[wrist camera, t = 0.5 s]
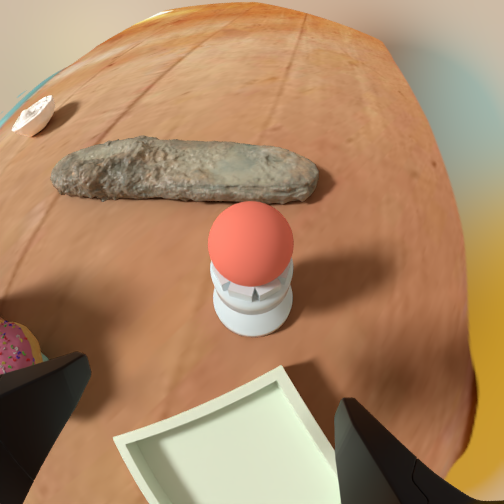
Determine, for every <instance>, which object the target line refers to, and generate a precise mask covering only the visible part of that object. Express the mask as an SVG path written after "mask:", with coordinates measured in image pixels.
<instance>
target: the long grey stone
mask: <svg viewBox="0 0 504 504" xmlns="http://www.w3.org/2000/svg"><path fill="white" fill-rule="evenodd" d="M318 180H319V170H318V169H317V167H316V165H315V164H314V163H313V162H312V161H310V160H309V159H306V158H305V157H303V156H300V155H298V154H296V153H294V152H291V151H289V150H286V149H283V148H280V147H273V146H257V145H250V144H240V143H235V142H218V141H210V142H204V141H183V140H178V139H174V140H159V139H157V138H154V137H147V136H139V137H135V138H128V139H125V140H119V139H118V140H115V141H107V142H106V143H104V144H98V145H94V146H91V147H88V148H85V149H81V150H79V151H76V152H73V153H71V154H68V155H67V156H65V157H64V158H62V159H61V160H60V161H59V162H58V163H57V164H56V165H55V167H54V168H53V170H52V173H51V181H52V183H53V186H54V187H55V188H56V189H57V190H58V192H59V193H60V194H61V195H65V194H67V195H69V196H76V195H77V196H80V197H84V196H85V197H89V198H93V197H97V198H98V199H99V198H101V201H102V202H104V201H106V200H108V199H114V200H117V199H119V198H134V199H143V198H145V199H147V198H154V197H163V198H165V199H173V200H174V199H181V200H183V201H188V200H189V199H192V200H194V201H196V202H198V201H206V200H207V201H234V202H246V201H256V202H261V203H269V204H271V203H280V204H285V203H287V202H289V201H297V200H300V201H301V202H303V201H304V200H306V199H307V198H308V197H309V196H310V195H311V194H312V193H313V192H314V190H315V188H316V186H317V182H318Z"/></svg>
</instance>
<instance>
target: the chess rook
mask: <svg viewBox="0 0 504 504" xmlns="http://www.w3.org/2000/svg"><path fill="white" fill-rule="evenodd" d="M210 272H211V277H212V281H213V283H214V286H215V289H214V294H213V302H214V307H215V310H216V313H217V315H218V317H219V319H220V320H221V322H222V323H223V324H224V326H225V327H226V328H228V329H229V330H230V331H232V332H233V333H235V334H237V335H240V336H244V337H250V338H256V337H263V336H266V335H268V334H271V333H273V332H274V331H276V330H277V329H278V328H280V327H281V326H282V324H283V323H284V322H285V320H286V319H287V317H288V315H289V312H290V310H291V307H292V301H293V295H292V289H291V286H290V283H291V279H292V275H293V261H292V257H291V260H290V262H289V264H288V266H287V267H286V269H285V270H284V271H283V273H282V274H281V275H280V276H278V277H277V278H276V279H274V280H273V281H271V282H269V283H267V284H264V285H261V286H255V287H247V286H241V285H238V284H235V283H233V282H231V281H229V280H227V279H226V278H224V277H223V276H222V275H221V274H220V273H219V272H218V271H217V269H216V268H215V266H214V265H213V263H212V260H211V265H210Z"/></svg>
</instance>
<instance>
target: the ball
mask: <svg viewBox="0 0 504 504" xmlns="http://www.w3.org/2000/svg"><path fill="white" fill-rule="evenodd" d="M293 245H294V241H293V234H292V231H291V228H290V226H289V224H288V222H287V220H286V219H285V218H284V217H283V215H282V214H281V213H280V212H279V211H278V210H276V209H275V208H273V207H271V206H269V205H267V204H265V203H261V202H256V201H246V202H240V203H237V204H234V205H232V206H230V207H229V208H227V209H226V210H224V211H223V212H222V213H221V214H220V215H219V216H218V217H217V219H216V220H215V221H214V223H213V225H212V227H211V230H210V233H209V238H208V250H209V255H210V258H211V260H212V263H213V265H214V266H215V268H216V269H217V271H218V272H219V273H220V274H221V275H222V276H223V277H224V278H226V279H227V280H229V281H231V282H233V283H235V284H238V285H241V286H247V287H255V286H261V285H264V284H267V283H269V282H271V281H273V280H274V279H276V278H277V277H278V276H280V275H281V274H282V273H283V271H284V270H285V269H286V267H287V266H288V264H289V262H290V260H291V257H292V253H293Z"/></svg>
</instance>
